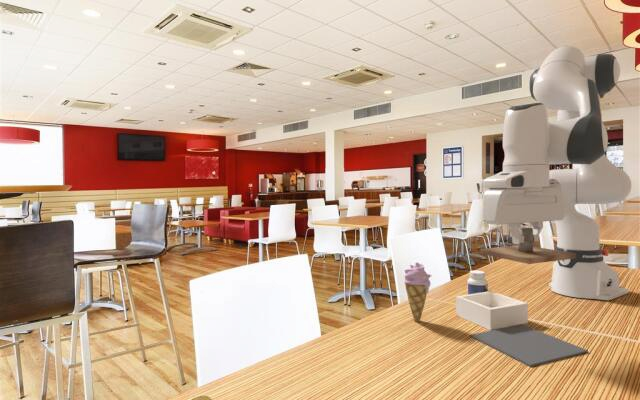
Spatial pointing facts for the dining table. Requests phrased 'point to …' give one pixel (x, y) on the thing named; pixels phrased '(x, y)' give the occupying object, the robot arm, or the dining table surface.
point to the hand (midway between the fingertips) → (525, 243)
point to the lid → (527, 251)
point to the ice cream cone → (417, 288)
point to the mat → (528, 345)
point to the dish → (492, 310)
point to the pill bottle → (477, 282)
